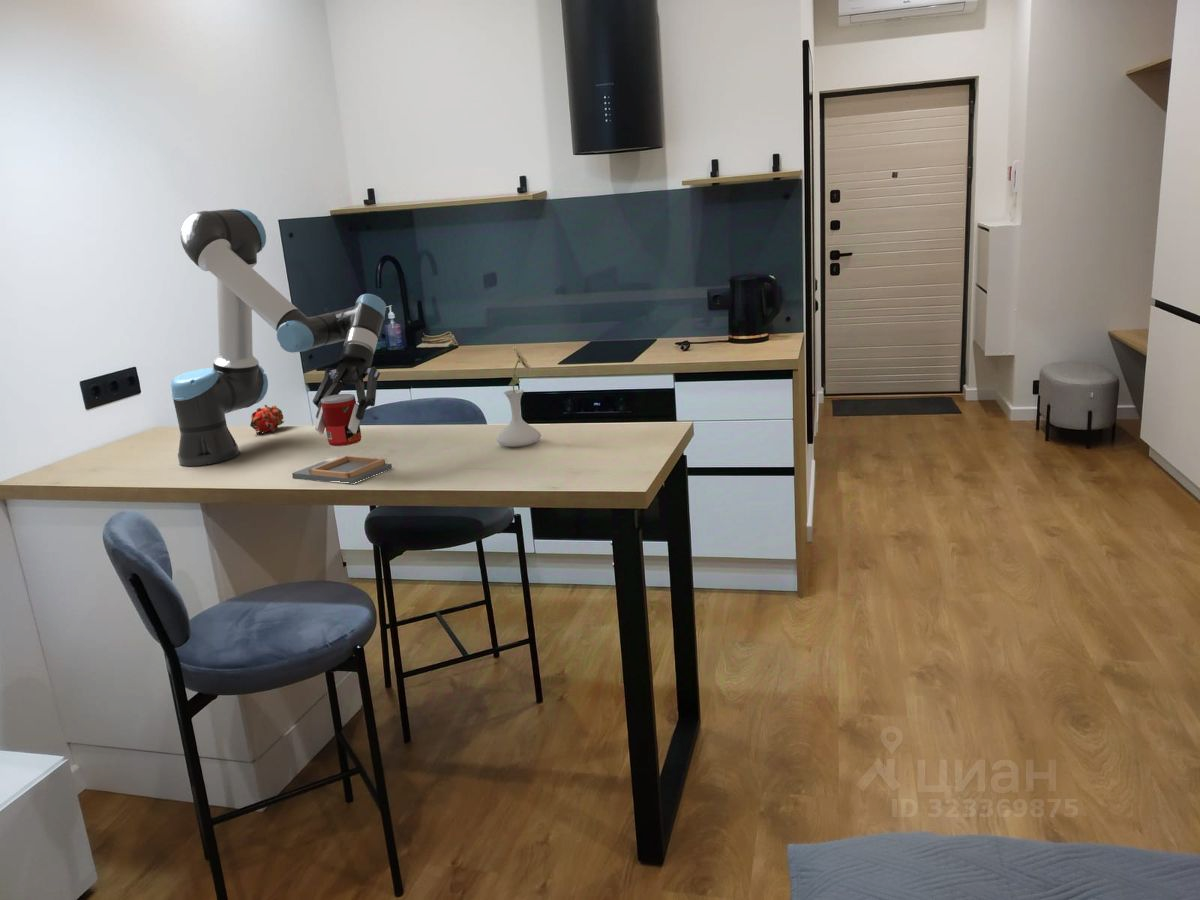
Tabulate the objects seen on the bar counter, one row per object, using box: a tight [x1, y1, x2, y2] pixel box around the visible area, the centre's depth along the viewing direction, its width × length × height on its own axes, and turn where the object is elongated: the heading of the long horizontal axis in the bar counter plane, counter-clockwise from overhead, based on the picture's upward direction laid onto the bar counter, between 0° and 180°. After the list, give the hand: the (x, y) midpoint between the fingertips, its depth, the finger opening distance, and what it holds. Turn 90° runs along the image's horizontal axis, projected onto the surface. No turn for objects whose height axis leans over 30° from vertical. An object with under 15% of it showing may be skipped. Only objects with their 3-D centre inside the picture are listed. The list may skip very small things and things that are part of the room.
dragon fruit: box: [249, 404, 285, 435], centre depth 276 cm, size 8×8×12 cm
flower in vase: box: [496, 345, 542, 448], centre depth 235 cm, size 13×11×25 cm
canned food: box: [321, 393, 362, 447], centre depth 220 cm, size 8×8×11 cm
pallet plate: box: [291, 455, 393, 483], centre depth 224 cm, size 20×13×2 cm, turn 60°
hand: (335, 430), depth 217 cm, fingers closed on canned food, 8 cm apart
